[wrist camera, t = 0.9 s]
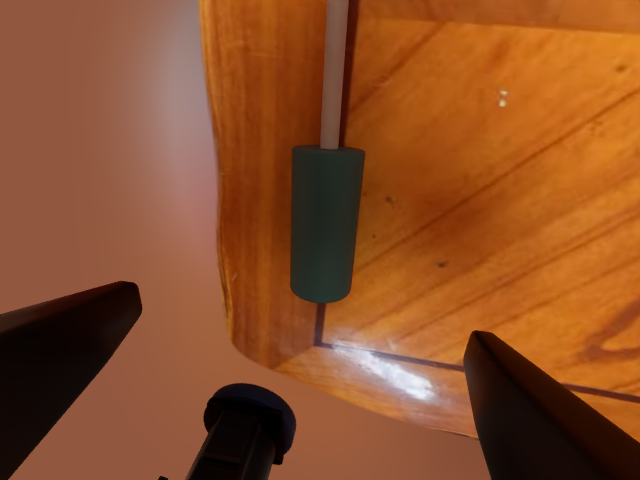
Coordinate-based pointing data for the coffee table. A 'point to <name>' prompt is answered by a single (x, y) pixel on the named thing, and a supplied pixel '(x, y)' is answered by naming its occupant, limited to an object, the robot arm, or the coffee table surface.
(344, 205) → the screwdriver
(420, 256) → the coffee table surface
